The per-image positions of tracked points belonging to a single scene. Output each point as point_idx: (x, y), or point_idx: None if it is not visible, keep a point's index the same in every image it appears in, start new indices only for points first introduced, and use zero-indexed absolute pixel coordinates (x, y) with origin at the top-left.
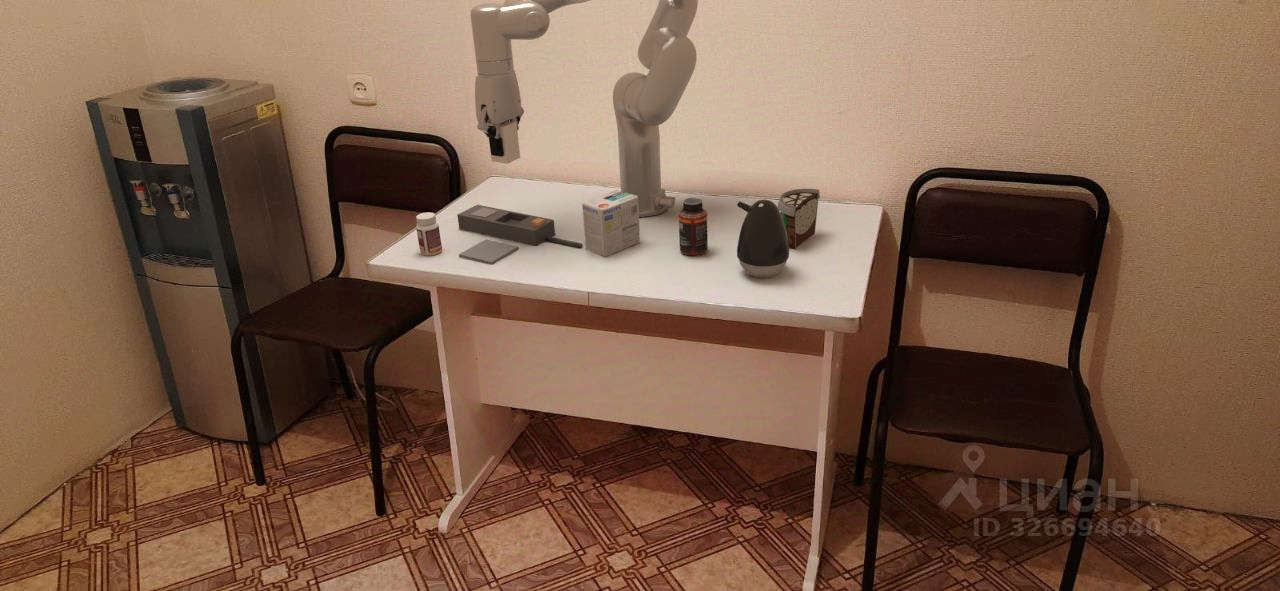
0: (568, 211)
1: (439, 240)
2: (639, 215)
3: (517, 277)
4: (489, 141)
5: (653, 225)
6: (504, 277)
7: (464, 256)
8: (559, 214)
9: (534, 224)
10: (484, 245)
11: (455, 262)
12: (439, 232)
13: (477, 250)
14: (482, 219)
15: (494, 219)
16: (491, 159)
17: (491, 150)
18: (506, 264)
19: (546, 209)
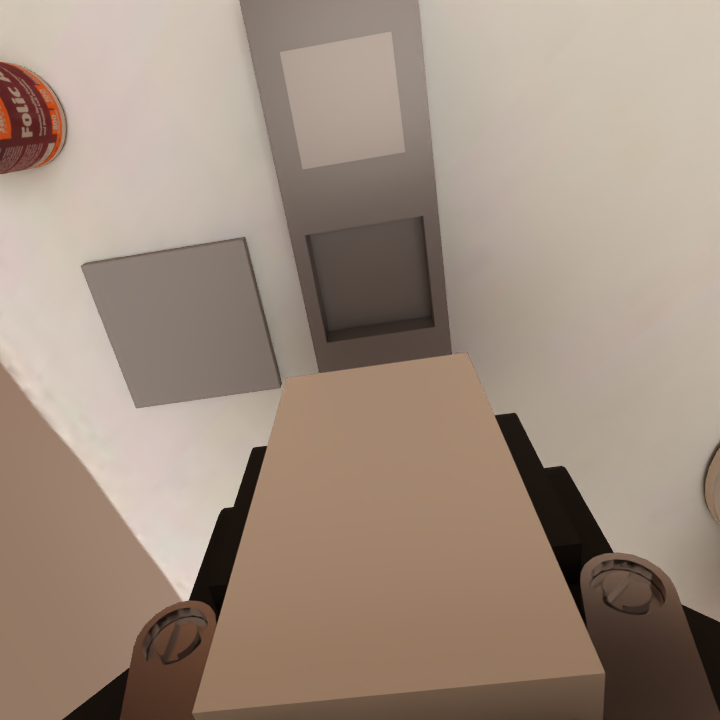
0: (676, 274)
1: (19, 167)
2: (713, 515)
3: (147, 515)
4: (225, 538)
5: (663, 569)
6: (118, 490)
7: (93, 291)
8: (630, 267)
9: None
10: (201, 281)
11: (51, 289)
12: (10, 160)
13: (154, 296)
14: (279, 172)
15: (316, 224)
16: (284, 388)
17: (222, 516)
18: (176, 435)
19: (662, 174)
